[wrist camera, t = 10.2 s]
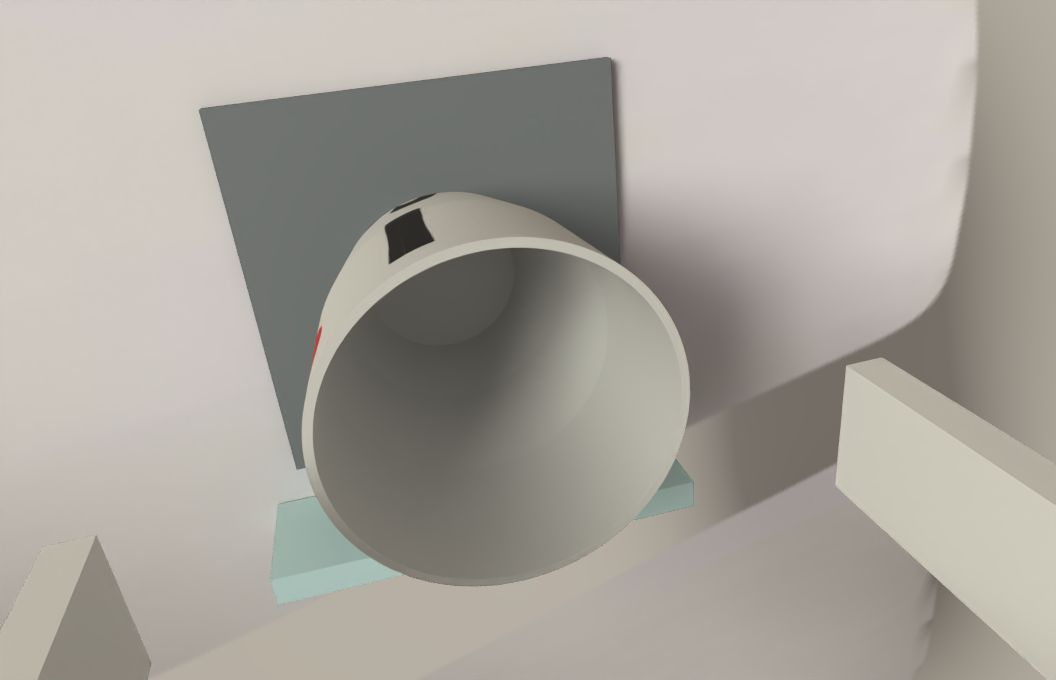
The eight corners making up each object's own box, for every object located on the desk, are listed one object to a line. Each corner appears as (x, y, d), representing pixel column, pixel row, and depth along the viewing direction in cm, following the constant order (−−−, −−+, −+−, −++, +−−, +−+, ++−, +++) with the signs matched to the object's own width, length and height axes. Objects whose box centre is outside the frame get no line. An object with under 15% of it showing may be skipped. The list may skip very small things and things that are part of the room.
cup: (392, 96, 22) (435, 154, 13) (608, 229, 25) (762, 349, 16) (266, 326, 24) (228, 516, 15) (483, 423, 27) (559, 627, 18)
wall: (284, 526, 27) (277, 605, 24) (278, 504, 27) (270, 580, 23) (649, 446, 30) (693, 505, 26) (649, 424, 29) (693, 482, 26)
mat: (297, 463, 26) (296, 469, 26) (201, 108, 21) (199, 110, 21) (623, 395, 28) (626, 400, 28) (606, 57, 23) (610, 57, 23)
